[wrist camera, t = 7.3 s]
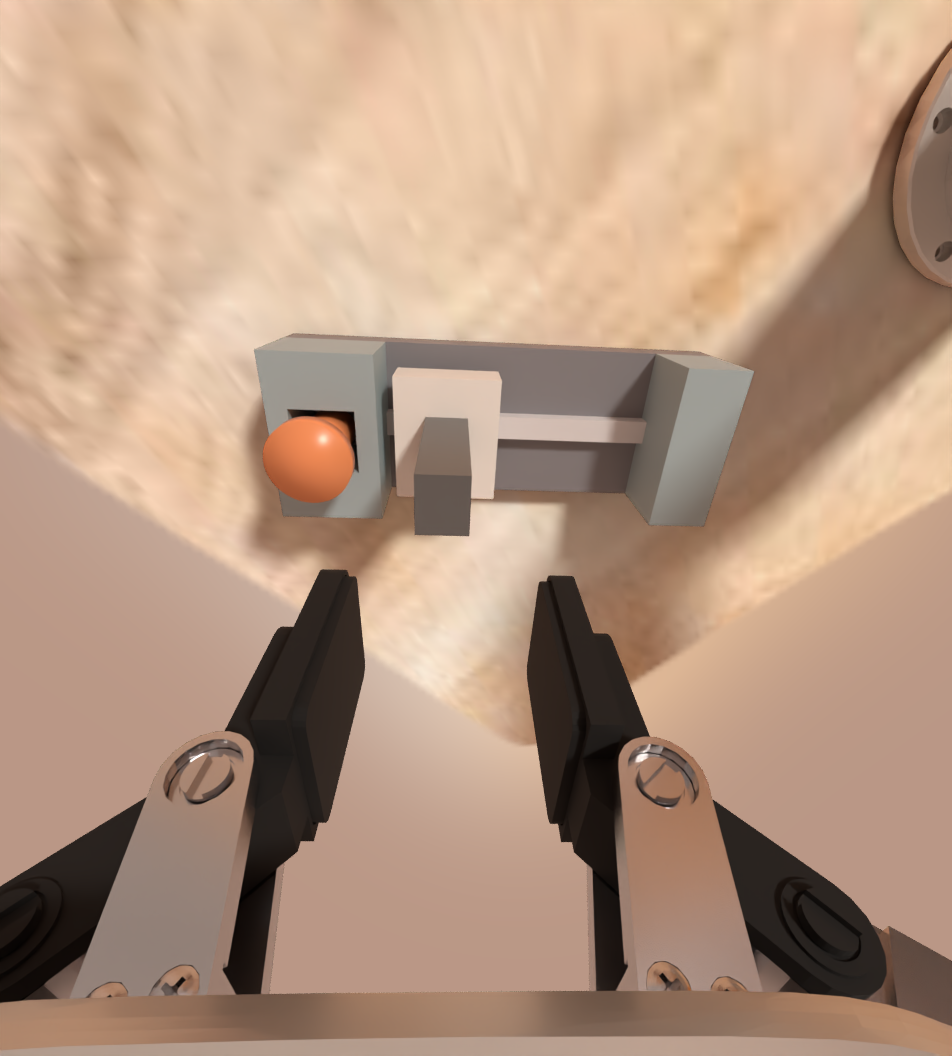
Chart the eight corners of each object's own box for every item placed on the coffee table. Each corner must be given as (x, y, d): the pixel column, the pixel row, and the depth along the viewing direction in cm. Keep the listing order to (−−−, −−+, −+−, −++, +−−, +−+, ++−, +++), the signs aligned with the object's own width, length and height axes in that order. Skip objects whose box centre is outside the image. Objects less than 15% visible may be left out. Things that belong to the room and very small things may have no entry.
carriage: (498, 371, 23) (519, 426, 15) (490, 481, 26) (505, 576, 18) (397, 367, 23) (365, 420, 15) (401, 479, 26) (376, 574, 18)
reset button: (368, 393, 23) (347, 423, 19) (372, 462, 25) (354, 504, 20) (294, 390, 23) (255, 419, 18) (303, 460, 25) (270, 501, 20)
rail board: (699, 351, 26) (754, 371, 21) (663, 484, 30) (703, 526, 25) (293, 333, 25) (253, 349, 20) (312, 474, 28) (283, 516, 24)
